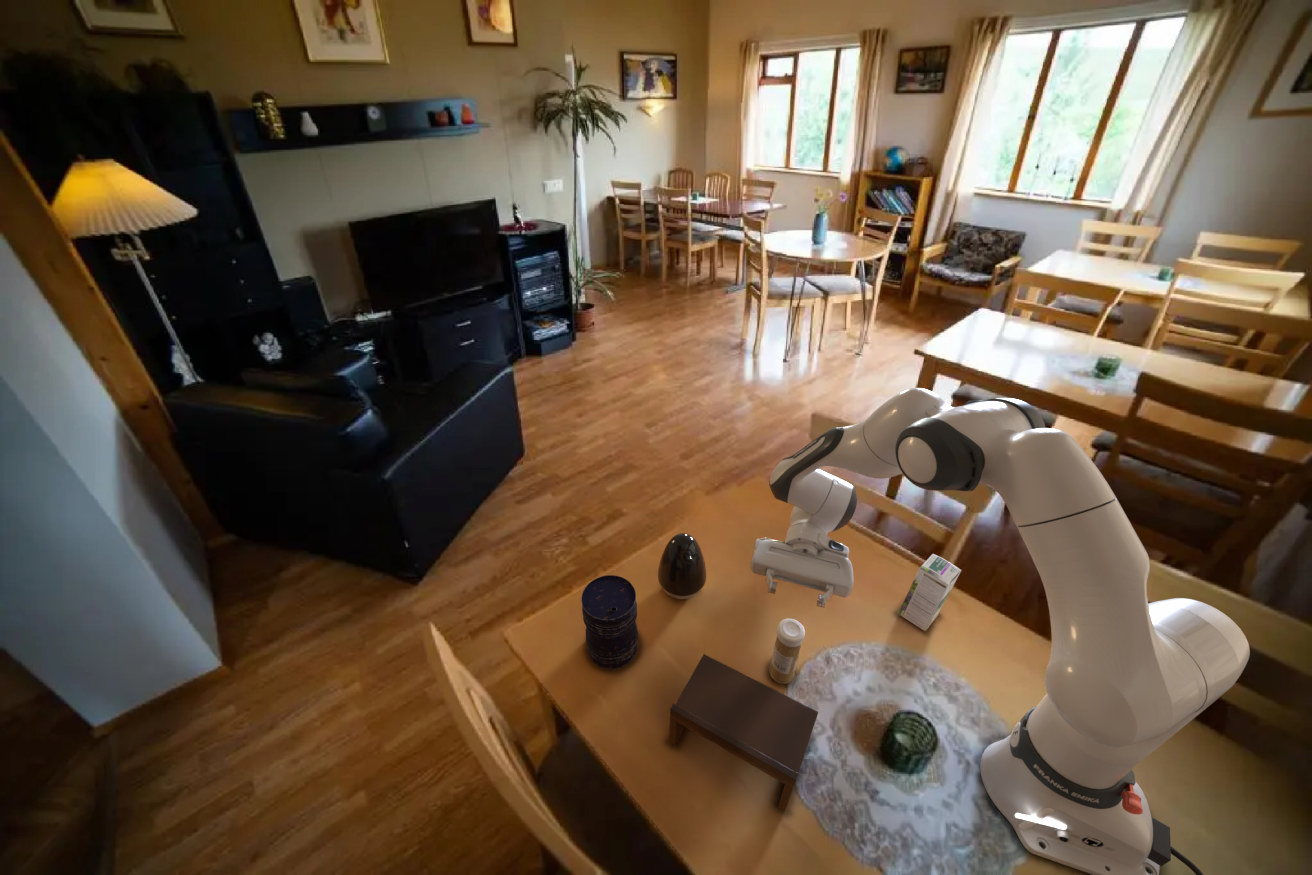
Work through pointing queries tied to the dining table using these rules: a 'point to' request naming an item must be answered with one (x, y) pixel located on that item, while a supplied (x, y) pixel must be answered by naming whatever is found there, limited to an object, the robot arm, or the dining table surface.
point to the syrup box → (929, 591)
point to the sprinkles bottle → (786, 650)
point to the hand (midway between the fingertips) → (795, 598)
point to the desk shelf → (745, 720)
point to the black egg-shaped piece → (682, 567)
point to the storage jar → (610, 621)
